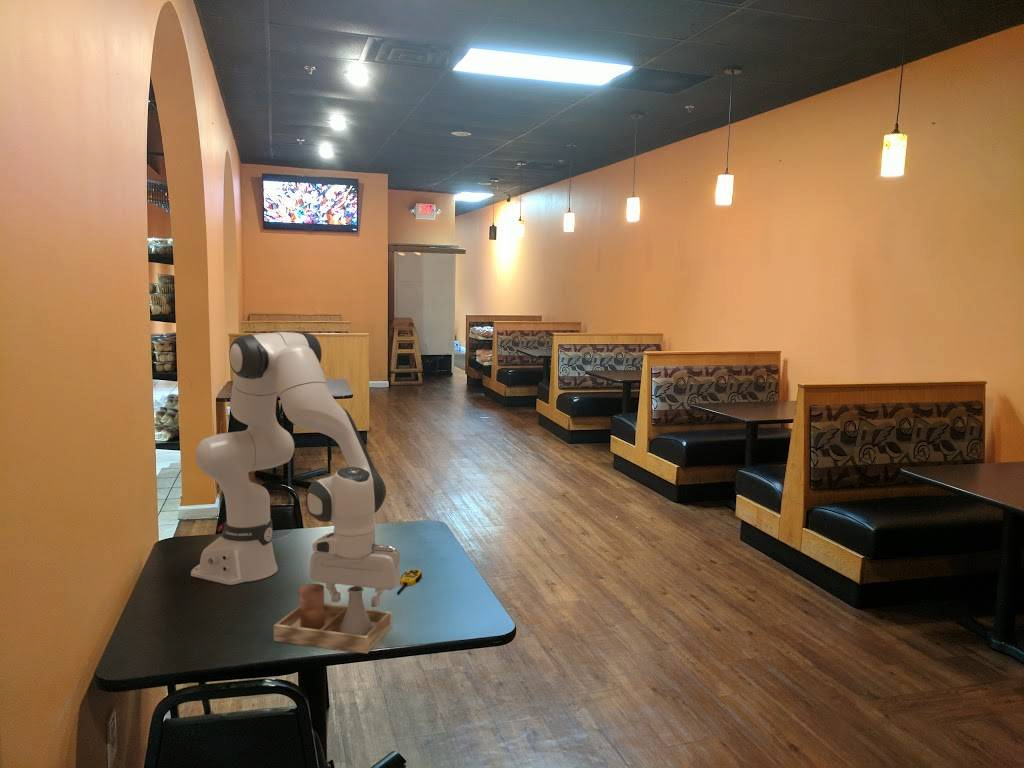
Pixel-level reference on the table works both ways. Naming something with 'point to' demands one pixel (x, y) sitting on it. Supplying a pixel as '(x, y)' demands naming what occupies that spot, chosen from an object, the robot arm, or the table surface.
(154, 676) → the table surface
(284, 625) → the condiment caddy
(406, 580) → the yellow walkie talkie
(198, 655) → the table surface
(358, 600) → the flask
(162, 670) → the table surface
